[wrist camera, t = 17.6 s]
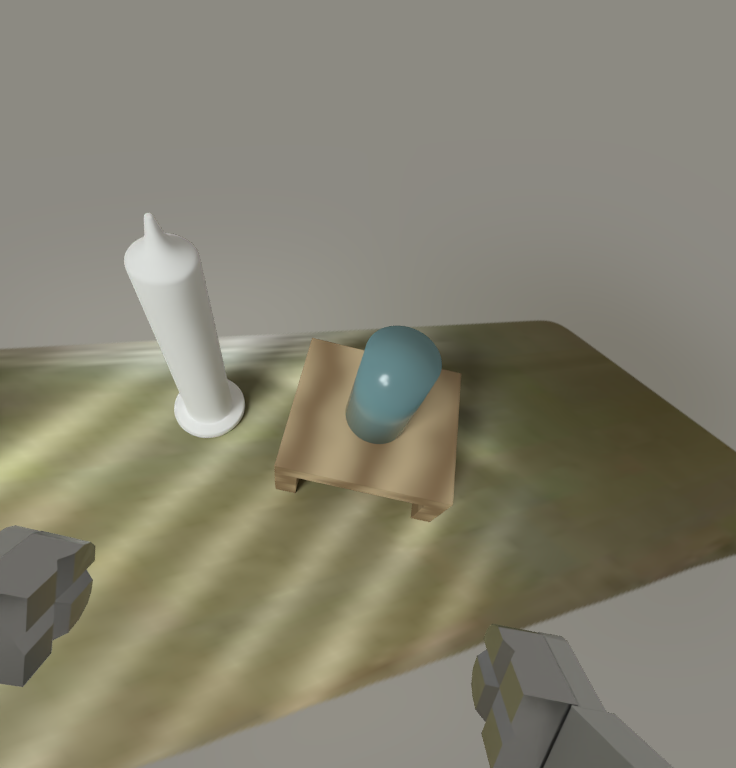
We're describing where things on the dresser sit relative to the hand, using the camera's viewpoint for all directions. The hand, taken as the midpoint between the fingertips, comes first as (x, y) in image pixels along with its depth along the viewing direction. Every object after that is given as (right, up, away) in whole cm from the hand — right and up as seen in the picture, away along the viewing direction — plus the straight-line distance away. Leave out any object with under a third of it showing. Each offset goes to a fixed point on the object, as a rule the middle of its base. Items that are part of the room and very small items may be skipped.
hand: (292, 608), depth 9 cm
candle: (-15, +2, +37) cm, 40 cm away
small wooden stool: (+1, -2, +38) cm, 38 cm away
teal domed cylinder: (+2, +2, +32) cm, 32 cm away
